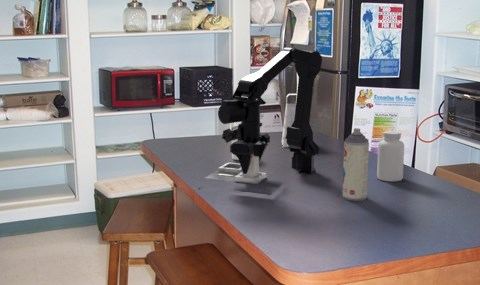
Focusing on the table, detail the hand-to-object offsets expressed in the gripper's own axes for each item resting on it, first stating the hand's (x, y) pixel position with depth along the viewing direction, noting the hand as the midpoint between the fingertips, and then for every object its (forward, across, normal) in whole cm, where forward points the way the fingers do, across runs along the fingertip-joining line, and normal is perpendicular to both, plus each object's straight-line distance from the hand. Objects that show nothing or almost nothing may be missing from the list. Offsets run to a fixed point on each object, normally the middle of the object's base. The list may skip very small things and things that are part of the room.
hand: (250, 170), depth 192 cm
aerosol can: (+4, +3, +33) cm, 33 cm away
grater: (+4, -59, -4) cm, 59 cm away
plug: (+3, 0, 0) cm, 3 cm away
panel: (+4, -4, -5) cm, 8 cm away
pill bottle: (+4, -21, +39) cm, 44 cm away
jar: (+4, -26, -13) cm, 29 cm away
